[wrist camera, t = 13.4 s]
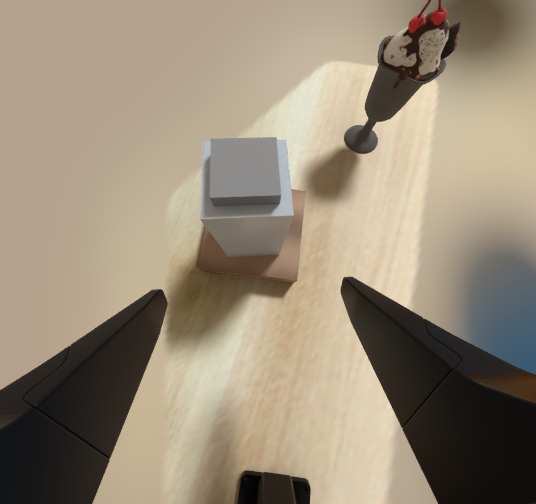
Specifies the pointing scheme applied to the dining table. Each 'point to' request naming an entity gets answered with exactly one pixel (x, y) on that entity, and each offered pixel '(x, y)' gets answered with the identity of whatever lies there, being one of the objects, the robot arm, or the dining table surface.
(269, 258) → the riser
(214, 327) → the dining table surface
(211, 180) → the grey rectangular block
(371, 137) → the sundae
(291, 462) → the dining table surface
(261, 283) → the dining table surface
